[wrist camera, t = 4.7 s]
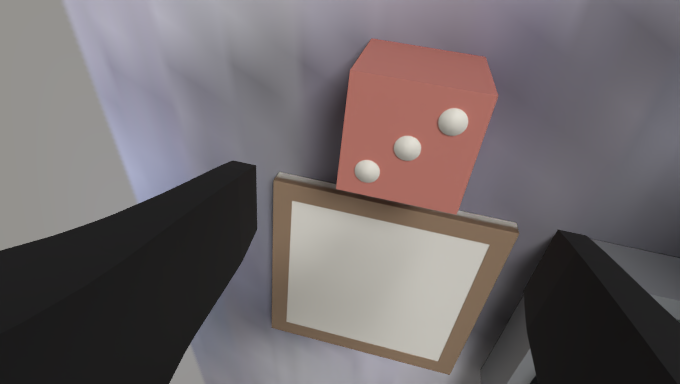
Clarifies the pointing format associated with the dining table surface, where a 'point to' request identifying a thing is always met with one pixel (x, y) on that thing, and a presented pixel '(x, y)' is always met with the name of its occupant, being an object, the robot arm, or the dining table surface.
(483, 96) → the small die
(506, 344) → the grey square tray
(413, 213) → the board
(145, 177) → the dining table surface
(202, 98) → the dining table surface
